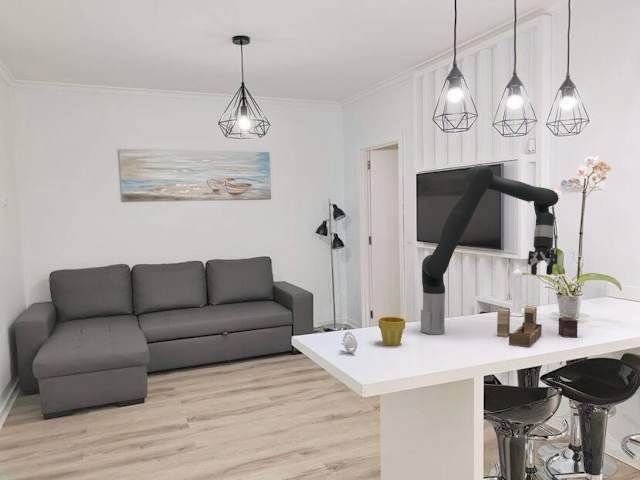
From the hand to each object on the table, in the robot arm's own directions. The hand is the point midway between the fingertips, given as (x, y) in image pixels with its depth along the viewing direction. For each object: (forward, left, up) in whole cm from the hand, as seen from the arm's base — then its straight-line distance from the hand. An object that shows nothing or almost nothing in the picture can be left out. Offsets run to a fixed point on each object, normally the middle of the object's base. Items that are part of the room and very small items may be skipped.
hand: (541, 274), depth 216 cm
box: (+7, -8, -25) cm, 28 cm away
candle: (+21, +32, -25) cm, 46 cm away
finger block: (-17, +4, -25) cm, 31 cm away
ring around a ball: (-88, +10, -25) cm, 92 cm away
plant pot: (-66, +14, -25) cm, 72 cm away
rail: (-14, -5, -25) cm, 29 cm away
